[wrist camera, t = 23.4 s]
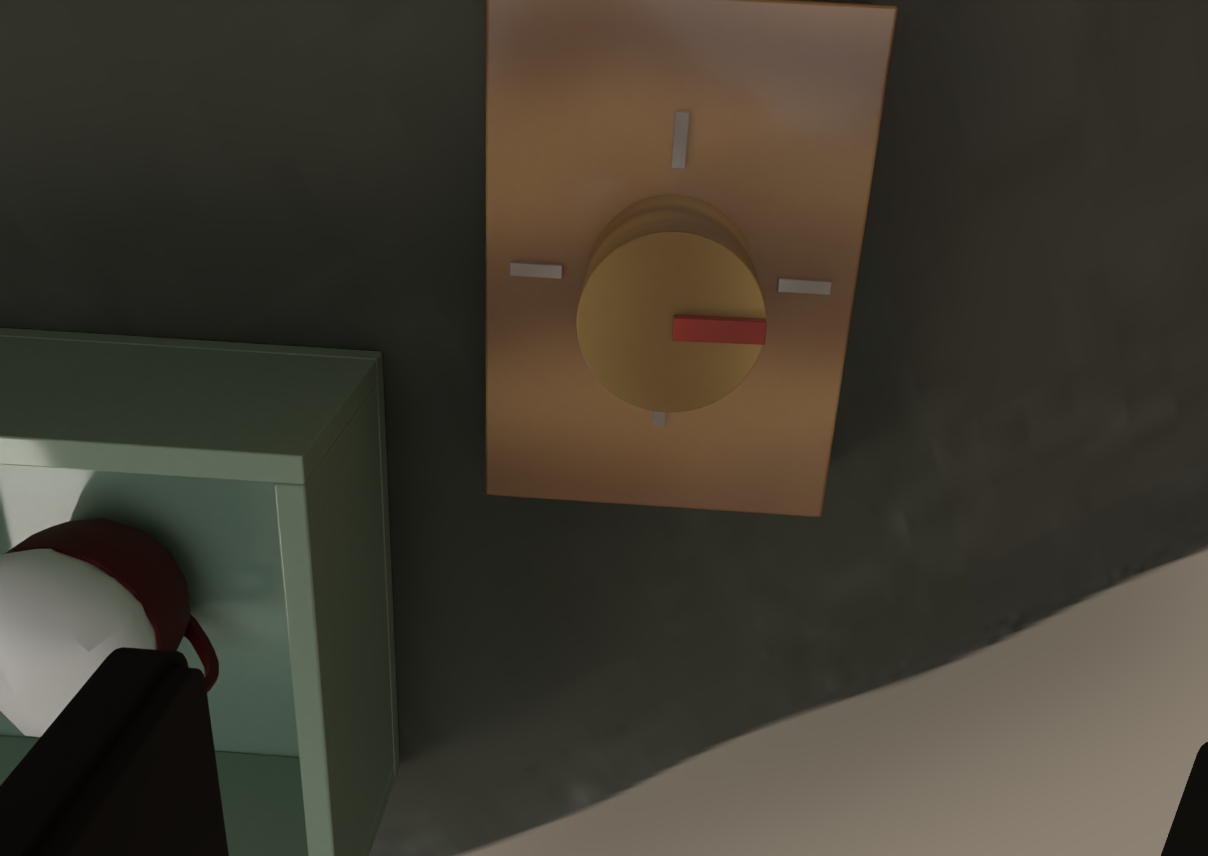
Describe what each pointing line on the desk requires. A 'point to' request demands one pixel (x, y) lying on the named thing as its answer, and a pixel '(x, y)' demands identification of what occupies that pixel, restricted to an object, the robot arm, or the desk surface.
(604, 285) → the rotary knob
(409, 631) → the desk surface
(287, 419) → the green open box
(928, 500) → the desk surface
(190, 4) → the desk surface
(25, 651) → the cocoa
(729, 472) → the wooden knob base
